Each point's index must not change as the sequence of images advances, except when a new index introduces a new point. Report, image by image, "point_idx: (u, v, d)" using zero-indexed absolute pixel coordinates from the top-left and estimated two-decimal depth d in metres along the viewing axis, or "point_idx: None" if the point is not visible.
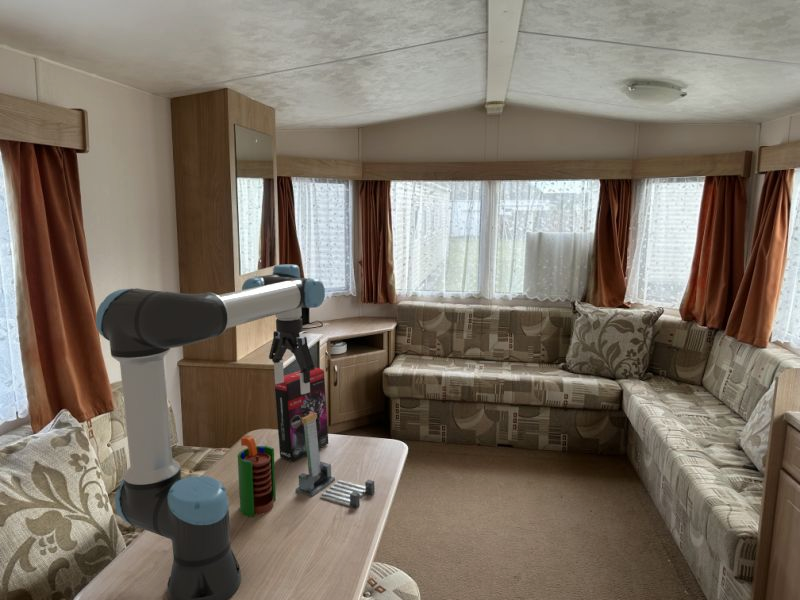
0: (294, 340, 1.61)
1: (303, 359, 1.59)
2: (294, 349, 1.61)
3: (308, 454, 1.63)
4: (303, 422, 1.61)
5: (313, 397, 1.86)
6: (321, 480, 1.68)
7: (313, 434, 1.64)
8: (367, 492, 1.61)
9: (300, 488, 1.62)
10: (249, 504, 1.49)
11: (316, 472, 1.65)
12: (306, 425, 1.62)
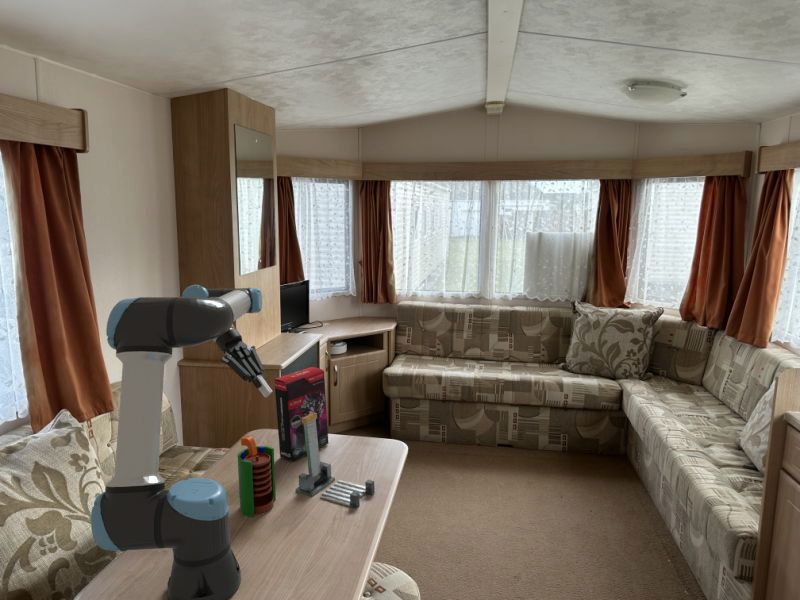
0: None
1: None
2: None
3: (308, 454, 1.63)
4: (303, 422, 1.61)
5: (313, 397, 1.86)
6: (321, 480, 1.68)
7: (313, 434, 1.64)
8: (367, 492, 1.61)
9: (300, 488, 1.62)
10: (249, 504, 1.49)
11: (316, 472, 1.65)
12: (306, 425, 1.62)
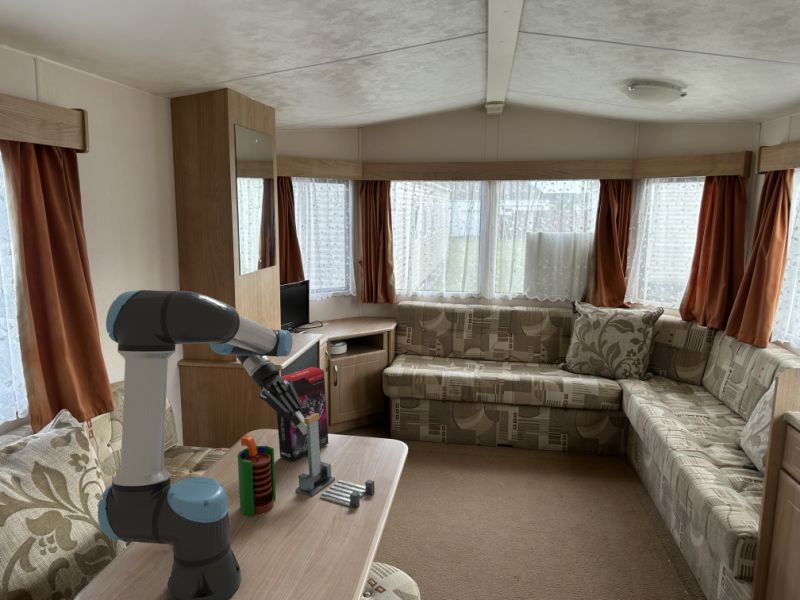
0: None
1: None
2: None
3: (309, 454, 1.63)
4: (306, 422, 1.61)
5: (313, 397, 1.86)
6: (321, 480, 1.68)
7: (315, 434, 1.64)
8: (367, 492, 1.61)
9: (300, 488, 1.62)
10: (249, 504, 1.49)
11: (316, 472, 1.65)
12: (308, 426, 1.61)
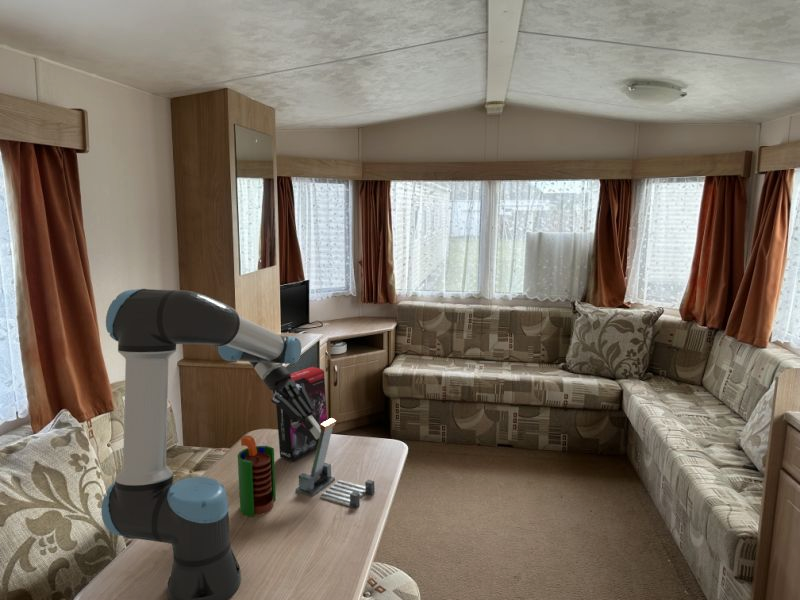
0: None
1: None
2: None
3: (316, 457, 1.62)
4: (321, 428, 1.58)
5: (313, 397, 1.86)
6: (321, 480, 1.68)
7: (326, 440, 1.62)
8: (367, 492, 1.61)
9: (300, 488, 1.62)
10: (249, 504, 1.49)
11: (318, 473, 1.65)
12: (323, 432, 1.59)
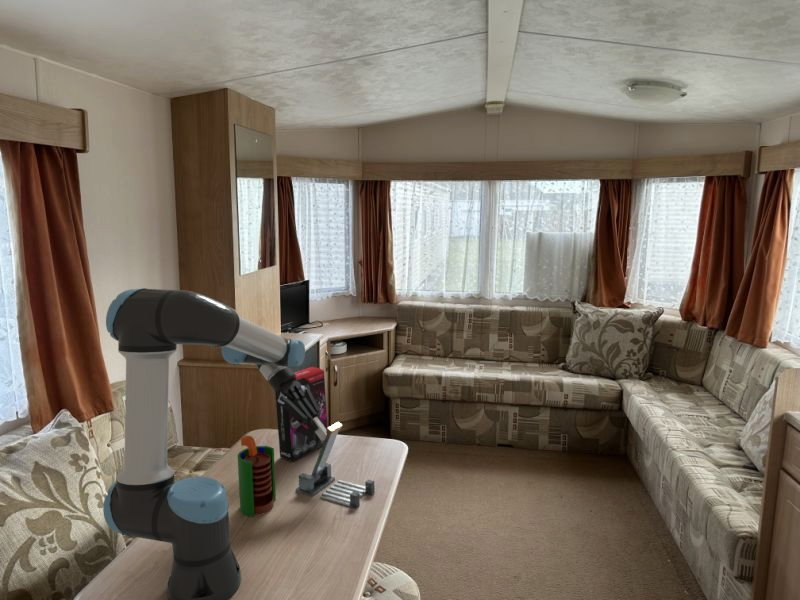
0: None
1: None
2: None
3: (319, 459, 1.61)
4: (327, 432, 1.57)
5: None
6: (321, 480, 1.68)
7: (331, 443, 1.61)
8: (367, 492, 1.61)
9: (300, 488, 1.62)
10: (249, 504, 1.49)
11: (318, 474, 1.65)
12: (328, 435, 1.58)
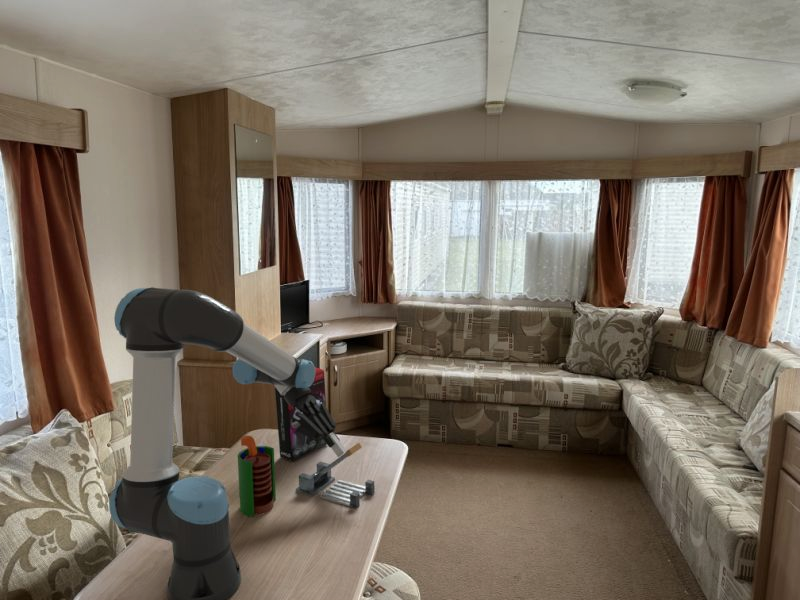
0: None
1: None
2: None
3: (327, 468, 1.60)
4: (347, 453, 1.55)
5: None
6: (321, 480, 1.68)
7: None
8: (367, 492, 1.61)
9: (300, 488, 1.62)
10: (249, 504, 1.49)
11: (320, 476, 1.65)
12: (346, 455, 1.56)
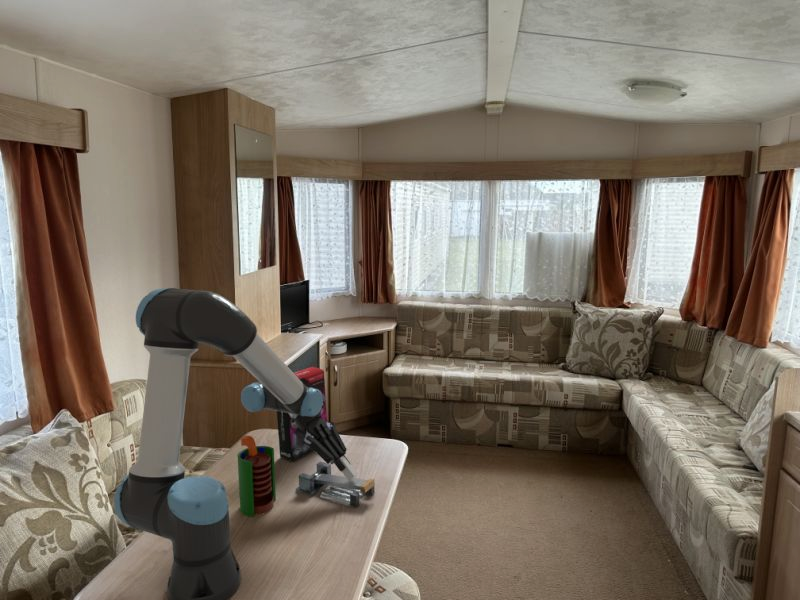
0: None
1: None
2: None
3: (333, 484, 1.60)
4: (361, 488, 1.55)
5: None
6: None
7: None
8: (367, 492, 1.61)
9: (300, 488, 1.62)
10: (249, 504, 1.49)
11: None
12: (358, 488, 1.56)
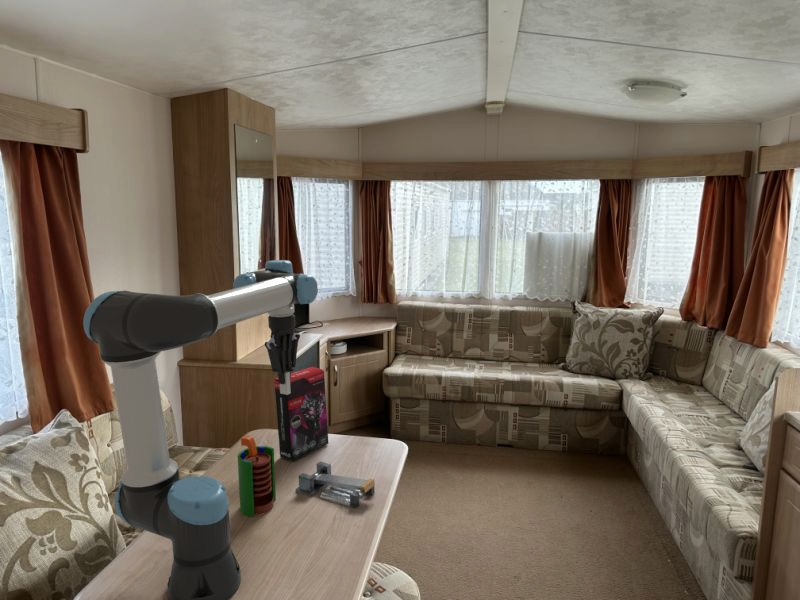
0: None
1: None
2: (275, 348, 1.62)
3: (333, 484, 1.60)
4: (361, 488, 1.55)
5: (313, 397, 1.86)
6: None
7: None
8: (367, 492, 1.61)
9: (300, 488, 1.62)
10: (249, 504, 1.49)
11: None
12: (358, 488, 1.56)
